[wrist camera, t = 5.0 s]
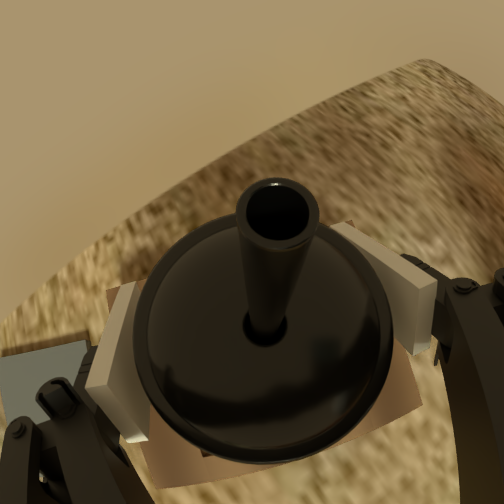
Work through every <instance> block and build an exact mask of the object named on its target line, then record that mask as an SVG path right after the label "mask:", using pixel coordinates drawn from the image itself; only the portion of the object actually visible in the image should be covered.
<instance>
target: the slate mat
mask: <svg viewBox="0 0 504 504" xmlns="http://www.w3.org/2000/svg"><path fill="white" fill-rule="evenodd" d="M90 348H91V343H90V341H88V340H81V341H77V342H72V343H68V344H64V345H59V346H55V347H50V348H45V349H41V350H36V351H31V352H27V353H22V354H17V355H12V356H7V357H2V358H0V390H1V396H2V401H3V407H4V412H5V416H6V421H7V425H9V424H10V422H11V421H13V420H14V419H15V418H18V417H20V416H27V417H30V418H31V420H32V421H33V422H34V423H35V424H36V425H37V424H39V423H42V422H45V421H47V420H50V418H49V417H48V415H47V414H46V413H45V412H44V411H43V409H42V408H41V407H40V406H39V405H38V403H37V402H36V401H35V397H36V394H37V392H38V390H39V388H40V387H41V386H42V385H43V384H44V383H46V382H47V381H49V380H50V379H53V378H56V377H64V378H67V379H68V381H69V382H70V383H71V385H72V386H73V385H74V382H75V379H76V376H77V374H78V371H79V368H80V367H81V362H82V360H83V357H84V355H85V354H86V353H87V351H88V350H89V349H90ZM39 476H40V477H43V475H41V474H40V473H39Z"/></svg>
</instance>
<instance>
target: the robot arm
mask: <svg viewBox="0 0 504 504" xmlns="http://www.w3.org/2000/svg"><path fill="white" fill-rule="evenodd" d="M330 228H331V229H333V230H334V231H336V232H337V233H339V234H340V235H342V236H343V237H344V238H346V239H347V240H348V241H349V242H350V243H352V244H353V245H354V246H355V247H356V248H357V249H358V250H359V251H360V252H361V253H362V254H363V256H364V257H365V258H366V259H367V260H368V262H369V263H370V265H371V266H372V268H373V269H374V270H375V272H376V274H377V276H378V277H379V279H380V281H381V283H382V285H383V288H384V290H385V292H386V295H387V298H388V301H389V304H390V309H391V313H392V319H393V328H394V337H395V338H396V339H397V340H398V341H399V342H400V343H401V344H402V345H403V347H404V348H405V349H406V350H407V351H408V352H409V353H410V354H411V355H412V356H414V355H416V354H418V353H420V352H422V351H424V350H426V349H428V348H429V347H430V341H431V335H433V336H434V337H435V338H436V339H437V340H438V344H437V349H436V355H435V360H434V366H436V365H437V363H438V359H439V360H440V364H441V368H442V372H443V377H444V381H445V386H446V391H447V396H448V401H449V406H450V412H451V418H452V424H453V430H454V437H455V445H456V453H457V462H458V473H459V486H460V504H504V268H500V269H499V270H497V271H496V272H495V275H494V281H493V283H490V284H486V285H482V286H480V285H479V284H478V283H477V282H476V281H474V280H472V279H468V278H455V279H452V280H451V279H449V278H448V277H446V276H445V275H443V274H442V273H440V272H439V271H437V270H435V269H434V268H432V267H431V268H430V266H429V265H427V264H426V263H423V261H421V260H419V259H418V258H416V257H414V256H410V255H407V254H401V255H398V254H396V253H395V252H393V251H392V250H390V249H388V248H387V247H385V246H384V245H382V244H380V243H379V242H377V241H375V240H374V239H372V238H371V237H369V236H367V235H366V234H364V233H362V232H361V231H359V230H357V229H356V228H354V227H352V226H351V225H349V224H347V223H345V222H341V223H337V224H333V225H330ZM140 294H141V292H140V290H139V287H138V285H137V282H136V281H134V282H130V283H127V284H123V285H121V286H120V289H119V291H118V294H117V296H116V299H115V301H114V304H113V307H112V309H111V312H110V314H109V317H108V320H107V322H106V325H105V328H104V331H103V334H102V336H101V339H100V342H99V345H97V346H93V347H91V348H90V349H89V350H88V351H87V353H86V354H85V355H84V357H83V360H82V362H81V367H80V368H79V371H78V374H77V376H76V379H75V382H74V385H73V386H72V385H71V383H70V382H69V381H68V379H67V378H64V377H56V378H53V379H50V380H49V381H47V382H46V383H44V384H43V385H42V386H41V387H40V388H39V390H38V392H37V394H36V397H35V401H36V402H37V403H38V405H39V406H40V407H41V408H42V409H43V411H44V412H45V413H46V414H47V415H48V417H49V418H50V420H47V421H45V422H42V423H39V424H37V425H36V424H35V423H34V422H33V421H32V420H31V418H30V417H27V416H20V417H18V418H15V419H14V420H13V421H11V422H10V424H9V425H8V427H7V429H6V432H5V435H4V441H3V446H2V452H1V458H0V504H155V503H154V501H153V499H152V498H151V496H150V494H149V493H148V491H147V490H146V488H145V486H144V484H143V483H142V481H141V479H140V478H139V476H138V474H137V472H136V470H135V469H134V467H133V465H132V463H131V461H130V459H129V457H128V455H127V453H126V452H125V450H124V449H123V448H122V446H121V445H120V444H119V438H120V434H121V435H122V436H123V437H124V439H125V440H126V441H127V442H128V443H133V442H141V441H148V440H149V422H150V405H151V403H150V401H149V399H148V397H147V396H146V393H145V391H144V389H143V387H142V385H141V382H140V379H139V377H138V373H137V369H136V365H135V361H134V354H133V341H132V334H133V322H134V316H135V310H136V307H137V303H138V299H139V297H140ZM39 473H40V474H41V475H43V482H41V481H40V480H39Z"/></svg>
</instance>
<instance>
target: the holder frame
mask: <svg viewBox="0 0 504 504" xmlns="http://www.w3.org/2000/svg"><path fill="white" fill-rule="evenodd" d="M345 223H347V224H349V225H351V226H352V227H354V228H355V226H354V224H353V222H352V220H350V221H347V222H345ZM329 228H330V226H329ZM146 280H147V278H146V279H143V280H140V281H136V282H137V285H138V287H139V290H140V292H141V291H142V289H143V286H144V284H145V282H146ZM119 289H120V286H119V287H115V288H112V289H108V290H106V293H107V300H108V307H109V314H110V312H111V309H112V307H113V304H114V301H115V299H116V296H117V294H118V291H119ZM422 405H423V404H422V400H421V397H420V394H419V390H418V387H417V384H416V381H415V378H414V374H413V371H412V368H411V365H410V362H409V359H408V356H407V353H406V350H405V348H404V347H403V345H402V344H401V343H400V342H399V341H398V340H397V339H396V338H395V337H394V345H393V355H392V361H391V366H390V370H389V373H388V376H387V379H386V382H385V384H384V387H383V389H382V391H381V393H380V395H379V397H378V399H377V401H376V402H375V404H374V405H373V407H372V408H371V410H370V411H369V413H368V414H367V415H366V416H365V418H364V419H363V420H362V421H361V422H360V423H359V424H358V425H357V426H356V427H355V428H354V429H353V430H352V431H351V432H350V433H349V434H348V435H346V436H345V437H344V438H342V439H341V440H340V441H338V442H337V443H335V444H334V445H332V446H331V447H329V448H327V449H330V448H333V447H335V446H338V445H340V444H343V443H345V442H348V441H350V440H352V439H355V438H357V437H359V436H362V435H364V434H366V433H368V432H371V431H373V430H375V429H377V428H379V427H381V426H383V425H385V424H388V423H390V422H392V421H394V420H395V419H397V418H399V417H401V416H403V415H405V414H407V413H409V412H411V411H413V410H414V409H416V408H418V407H420V406H422ZM140 445H141V448H142V451H143V454H144V457H145V460H146V463H147V466H148V469H149V472H150V474H151V477H152V480H153V482H154V485H155V488H156V489H163V488H172V487H180V486H188V485H194V484H201V483H207V482H212V481H218V480H223V479H228V478H232V477H237V476H241V475H246V474H250V473H254V472H258V471H262V470H265V469H269V468H273V467H276V466H280V465H283V464H286V463H283V464H275V465H252V464H243V463H237V462H232V461H228V460H225V459H221V458H218V457H216V456H213V455H211V454H208V453H206V452H204V451H202V450H200V449H198V448H197V447H195V446H193V445H192V444H190V443H189V442H187V441H186V440H184V439H183V438H182V437H180V436H179V435H178V434H177V433H176V432H174V431H173V430H172V429H171V428H170V427H169V426H168V425H167V424H166V423H165V422H164V420H163V419H162V418H161V417H160V416H159V414H158V413H157V412H156V410H155V409H154V407H153V406H152V404H151V405H150V422H149V440H148V441H141V442H140ZM327 449H325V450H327ZM325 450H323V451H325ZM321 452H322V451H321ZM289 463H290V462H289Z"/></svg>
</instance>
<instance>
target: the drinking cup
mask: <svg viewBox="0 0 504 504" xmlns="http://www.w3.org/2000/svg"><path fill="white" fill-rule="evenodd" d="M132 341H133V354H134V361H135V365H136V369H137V373H138V377H139V379H140V382H141V385H142V387H143V389H144V391H145V393H146V396H147V397H148V399H149V401H150V403H151V404H152V406H153V407H154V409H155V410H156V412H157V413H158V414H159V416H160V417H161V418H162V419H163V420H164V422H165V423H166V424H167V425H168V426H169V427H170V428H171V429H172V430H173V431H174V432H176V433H177V434H178V435H179V436H180V437H182V438H183V439H184V440H186V441H187V442H189V443H190V444H192V445H193V446H195V447H197V448H198V449H200V450H202V451H204V452H206V453H208V454H211V455H213V456H216V457H218V458H221V459H225V460H228V461H232V462H237V463H243V464H252V465H275V464H283V463H289V462H293V461H297V460H301V459H304V458H307V457H310V456H312V455H315V454H317V453H319V452H321V451H323V450H325V449H327V448H329V447H331V446H332V445H334V444H335V443H337V442H338V441H340V440H341V439H342V438H344V437H345V436H346V435H348V434H349V433H350V432H351V431H352V430H353V429H354V428H355V427H356V426H357V425H358V424H359V423H360V422H361V421H362V420H363V419H364V418H365V416H366V415H367V414H368V413H369V411H370V410H371V408H372V407H373V405H374V404H375V402H376V401H377V399H378V397H379V395H380V393H381V391H382V389H383V387H384V384H385V382H386V379H387V376H388V373H389V370H390V366H391V361H392V355H393V345H394V328H393V319H392V313H391V309H390V304H389V301H388V298H387V295H386V292H385V290H384V288H383V285H382V283H381V281H380V279H379V277H378V276H377V274H376V272H375V270H374V269H373V268H372V266H371V265H370V263H369V262H368V260H367V259H366V258H365V257H364V256H363V254H362V253H361V252H360V251H359V250H358V249H357V248H356V247H355V246H354V245H353V244H352V243H350V242H349V241H348V240H347V239H346V238H344V237H343V236H342V235H340V234H339V233H337V232H336V231H334V230H333V229H331V228H329V227H327V226H326V225H324V224H322V223H319V208H318V204H317V202H316V200H315V198H314V196H313V195H312V194H311V192H310V191H309V190H308V189H306V188H305V187H304V186H303V185H301V184H299V183H297V182H295V181H293V180H290V179H286V178H267V179H263V180H260V181H258V182H255V183H254V184H252V185H250V186H249V187H248V188H247V189H246V190H245V191H244V192H243V193H242V195H241V196H240V198H239V200H238V203H237V206H236V213H234V214H230V215H227V216H223V217H220V218H217V219H215V220H212V221H210V222H207V223H206V224H204V225H201V226H199V227H198V228H196V229H194V230H193V231H191V232H190V233H188V234H187V235H185V236H184V237H183V238H181V239H180V240H179V241H178V242H176V243H175V244H174V245H173V246H172V247H171V248H170V249H169V250H168V251H167V252H166V253H165V254H164V255H163V256H162V258H161V259H160V260H159V262H158V263H157V264H156V266H155V267H154V268H153V270H152V272H151V273H150V275H149V277H148V278H147V280H146V282H145V284H144V286H143V289H142V291H141V294H140V297H139V299H138V303H137V307H136V310H135V316H134V322H133V334H132Z"/></svg>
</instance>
